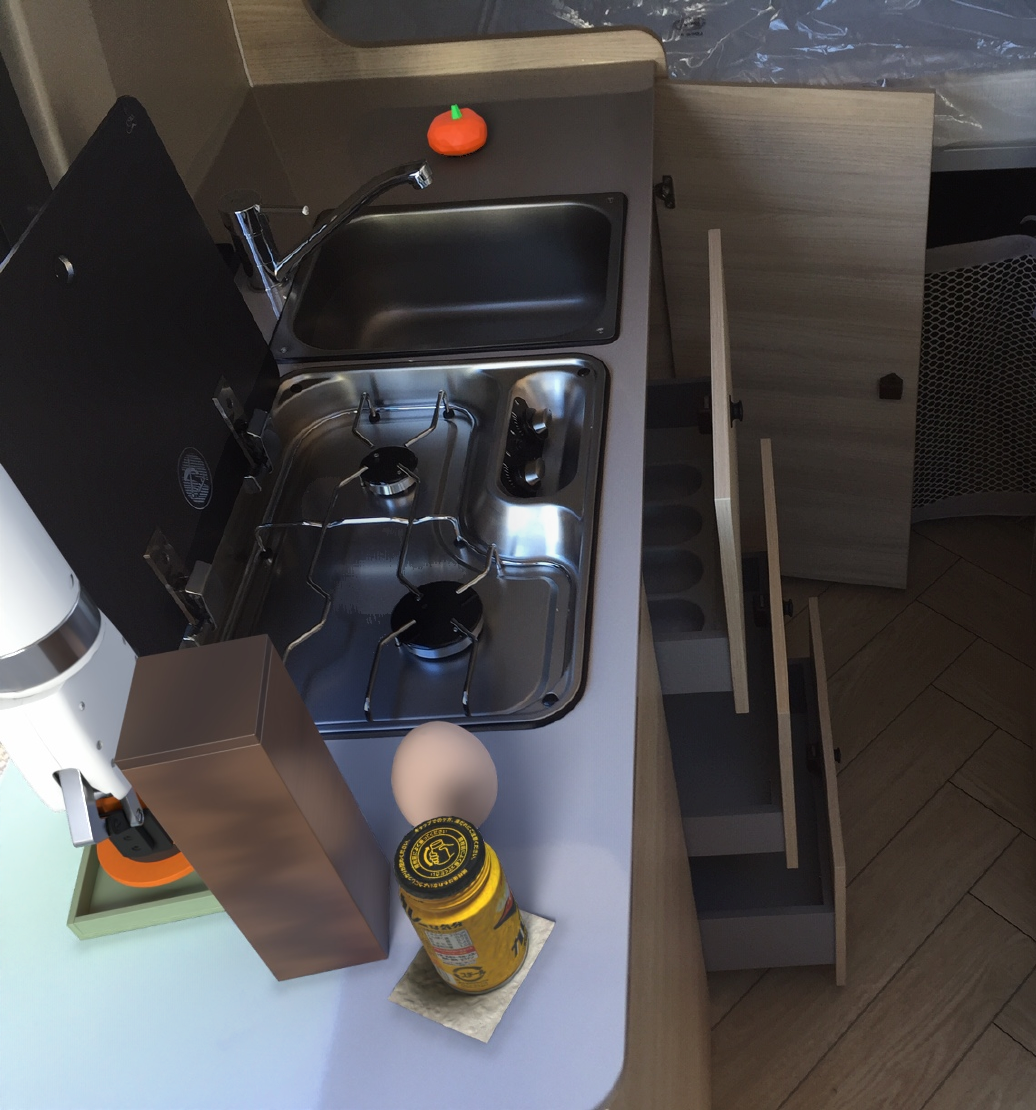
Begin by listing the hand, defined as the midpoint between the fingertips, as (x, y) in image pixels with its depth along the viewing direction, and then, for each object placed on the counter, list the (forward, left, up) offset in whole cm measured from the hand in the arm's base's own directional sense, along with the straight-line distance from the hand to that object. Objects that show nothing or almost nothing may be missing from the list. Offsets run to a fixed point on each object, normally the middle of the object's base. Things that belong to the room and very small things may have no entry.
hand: (157, 805), depth 81 cm
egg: (+19, -3, -5) cm, 20 cm away
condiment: (+20, -14, -5) cm, 25 cm away
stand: (+11, -9, -5) cm, 15 cm away
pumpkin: (+22, +101, -5) cm, 103 cm away
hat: (0, 0, -3) cm, 3 cm away
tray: (0, 0, -5) cm, 5 cm away
